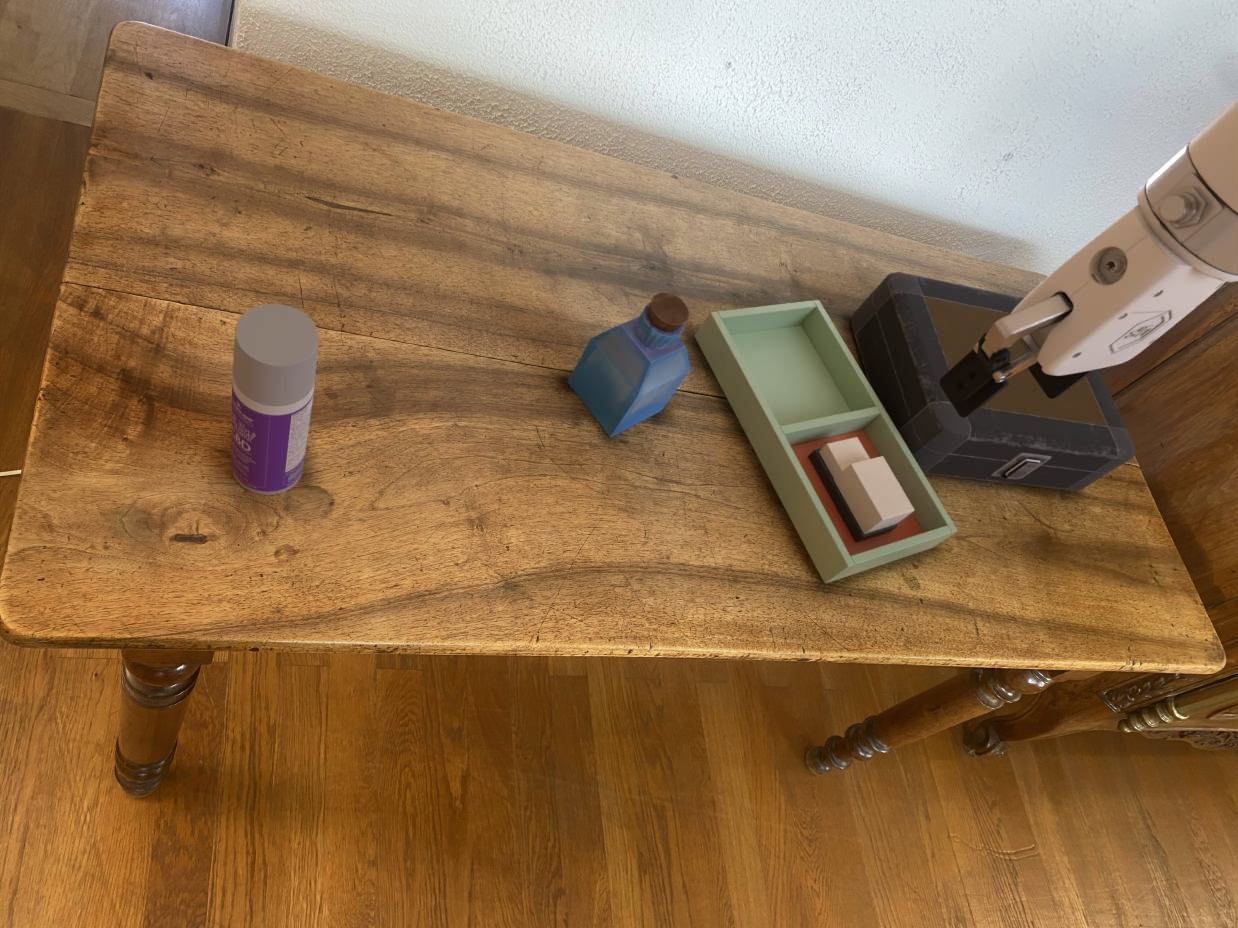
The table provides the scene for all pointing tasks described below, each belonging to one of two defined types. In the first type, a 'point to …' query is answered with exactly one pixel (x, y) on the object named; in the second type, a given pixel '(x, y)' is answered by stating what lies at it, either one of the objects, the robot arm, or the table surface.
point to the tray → (815, 427)
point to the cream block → (861, 488)
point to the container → (272, 396)
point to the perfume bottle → (634, 365)
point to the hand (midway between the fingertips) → (997, 390)
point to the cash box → (1007, 424)
